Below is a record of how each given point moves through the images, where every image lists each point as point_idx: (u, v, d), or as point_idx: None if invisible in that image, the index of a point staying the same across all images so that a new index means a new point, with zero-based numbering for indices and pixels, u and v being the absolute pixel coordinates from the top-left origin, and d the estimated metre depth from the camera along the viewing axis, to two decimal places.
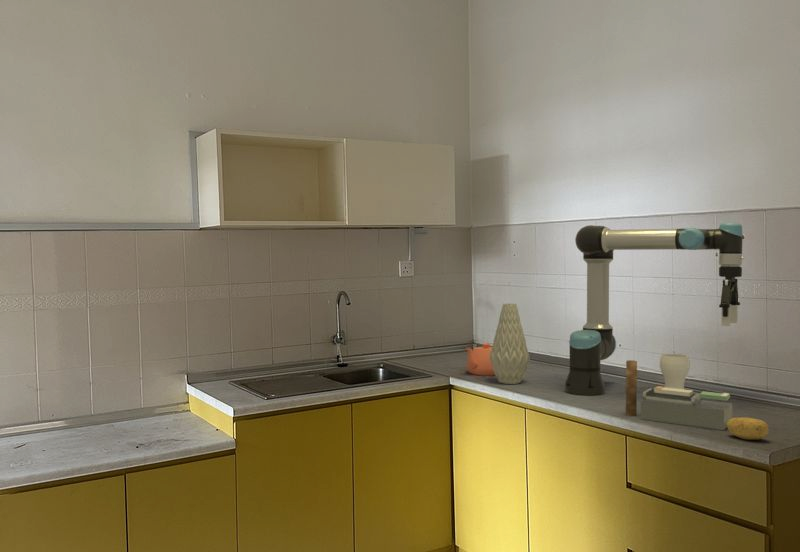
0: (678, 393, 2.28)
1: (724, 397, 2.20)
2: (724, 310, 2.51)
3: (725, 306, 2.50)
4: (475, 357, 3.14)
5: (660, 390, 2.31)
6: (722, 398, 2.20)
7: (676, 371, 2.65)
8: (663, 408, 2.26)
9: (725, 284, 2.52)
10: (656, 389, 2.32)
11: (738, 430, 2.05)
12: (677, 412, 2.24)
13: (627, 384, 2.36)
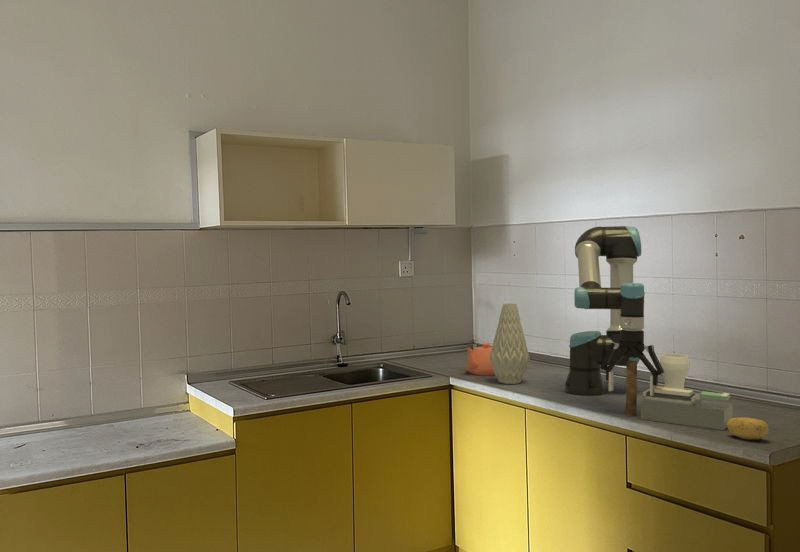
0: (678, 393, 2.28)
1: (724, 397, 2.20)
2: None
3: None
4: (475, 357, 3.14)
5: (660, 390, 2.31)
6: (722, 398, 2.20)
7: (676, 371, 2.65)
8: (663, 408, 2.26)
9: None
10: (656, 389, 2.32)
11: (738, 430, 2.05)
12: (677, 412, 2.24)
13: (627, 384, 2.36)
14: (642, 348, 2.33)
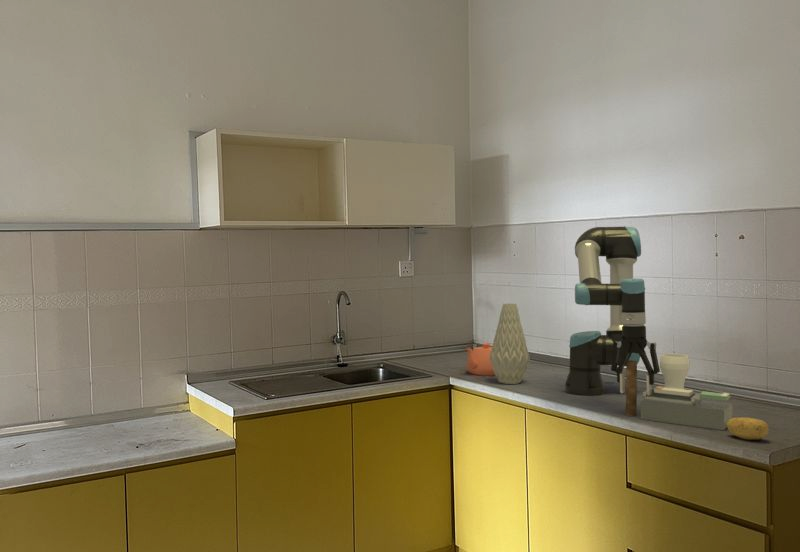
0: (678, 393, 2.28)
1: (724, 397, 2.20)
2: None
3: None
4: (475, 357, 3.14)
5: (660, 390, 2.31)
6: (722, 398, 2.20)
7: (676, 371, 2.65)
8: (663, 408, 2.26)
9: None
10: (656, 389, 2.32)
11: (738, 430, 2.05)
12: (677, 412, 2.24)
13: (627, 384, 2.36)
14: (644, 344, 2.33)
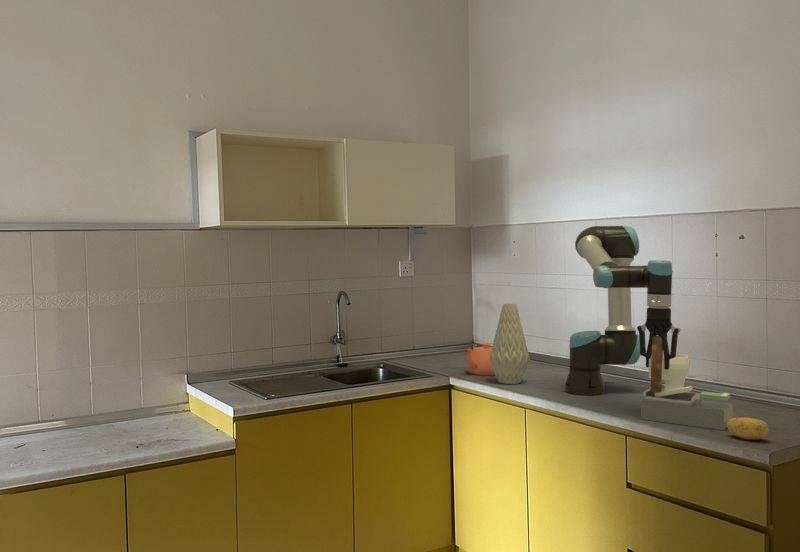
0: (678, 391, 2.28)
1: (724, 397, 2.20)
2: None
3: None
4: (475, 357, 3.14)
5: (660, 393, 2.31)
6: (722, 398, 2.20)
7: (676, 371, 2.65)
8: (663, 408, 2.26)
9: None
10: (656, 393, 2.32)
11: (738, 430, 2.05)
12: (677, 412, 2.24)
13: (653, 359, 2.32)
14: (669, 327, 2.30)
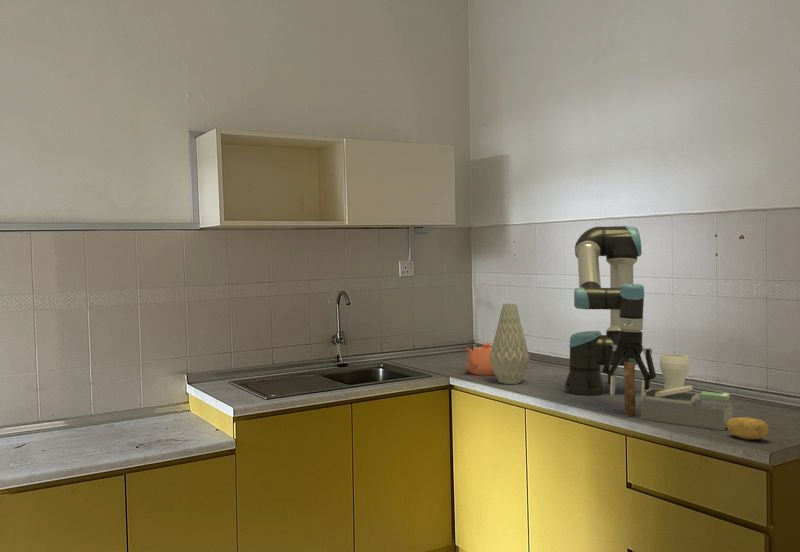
0: (678, 391, 2.28)
1: (724, 397, 2.20)
2: None
3: None
4: (475, 357, 3.14)
5: (660, 393, 2.31)
6: (722, 398, 2.20)
7: (676, 371, 2.65)
8: (663, 408, 2.26)
9: None
10: (656, 394, 2.32)
11: (738, 430, 2.05)
12: (677, 412, 2.24)
13: (625, 384, 2.35)
14: (640, 350, 2.34)
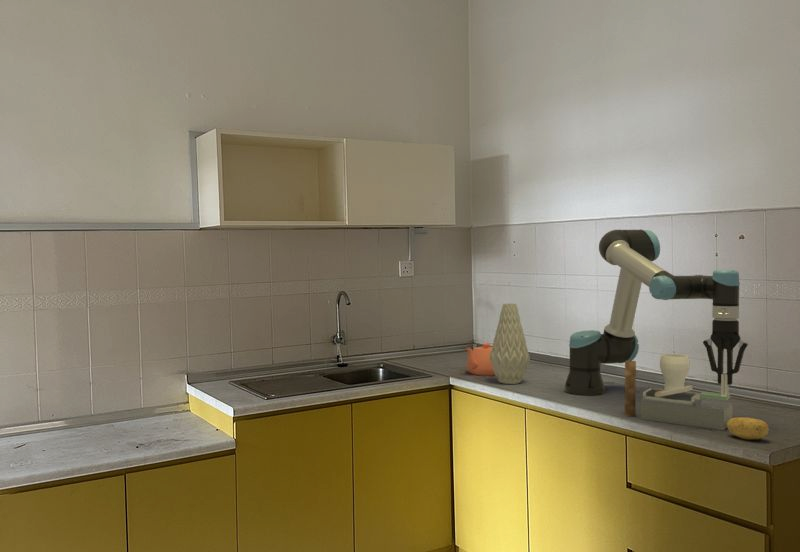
0: (678, 391, 2.28)
1: (724, 397, 2.20)
2: None
3: None
4: (475, 357, 3.14)
5: (660, 393, 2.31)
6: (722, 398, 2.20)
7: (676, 371, 2.65)
8: (663, 408, 2.26)
9: None
10: (656, 394, 2.32)
11: (738, 430, 2.05)
12: (677, 412, 2.24)
13: (626, 384, 2.35)
14: (737, 340, 2.18)
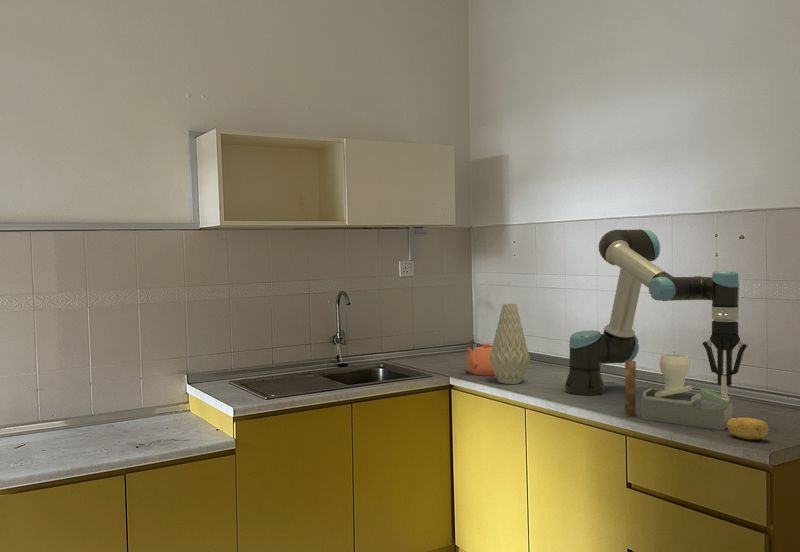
0: (678, 391, 2.28)
1: (724, 400, 2.20)
2: None
3: None
4: (475, 357, 3.14)
5: (660, 393, 2.31)
6: (721, 401, 2.20)
7: (676, 371, 2.65)
8: (663, 408, 2.26)
9: None
10: (656, 394, 2.32)
11: (738, 430, 2.05)
12: (677, 412, 2.24)
13: (626, 384, 2.35)
14: (736, 341, 2.19)
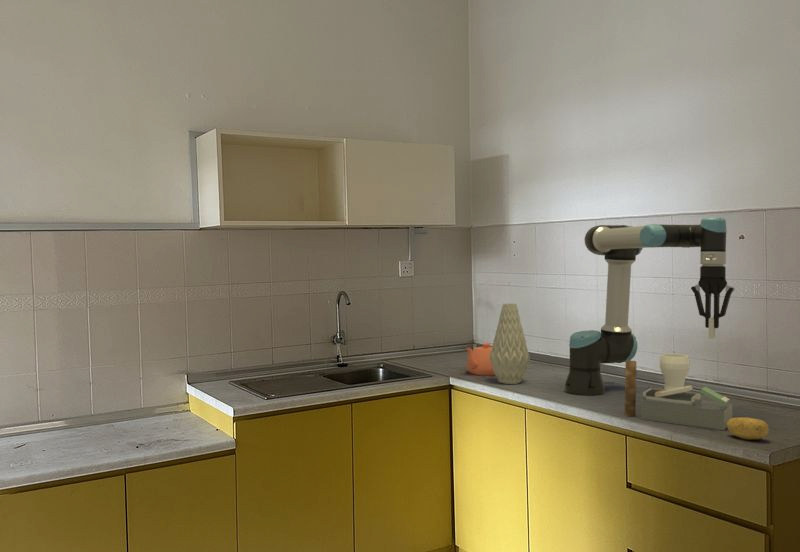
0: (678, 391, 2.28)
1: (723, 402, 2.20)
2: None
3: None
4: (475, 357, 3.14)
5: (660, 393, 2.31)
6: (721, 402, 2.20)
7: (676, 371, 2.65)
8: (663, 408, 2.26)
9: None
10: (656, 394, 2.32)
11: (738, 430, 2.05)
12: (677, 412, 2.24)
13: (626, 384, 2.35)
14: (723, 285, 2.27)
